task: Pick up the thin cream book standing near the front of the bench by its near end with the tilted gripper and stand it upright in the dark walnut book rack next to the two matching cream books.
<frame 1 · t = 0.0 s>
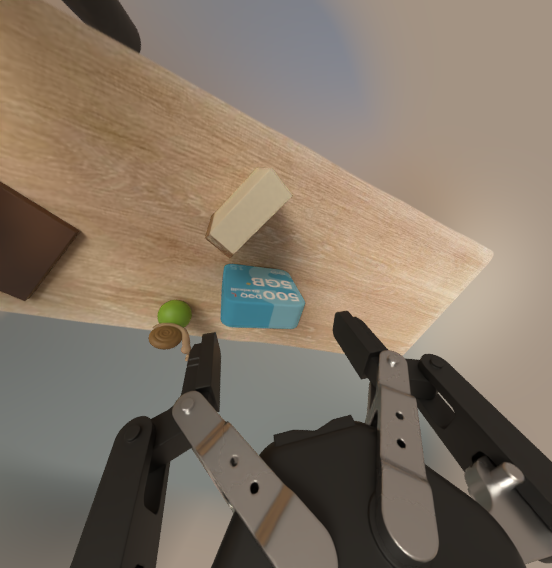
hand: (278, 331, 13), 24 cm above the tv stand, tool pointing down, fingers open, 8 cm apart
data package: (255, 276, 38), on the tv stand
cream book: (242, 201, 31), on the tv stand
snail figurine: (181, 306, 38), on the tv stand
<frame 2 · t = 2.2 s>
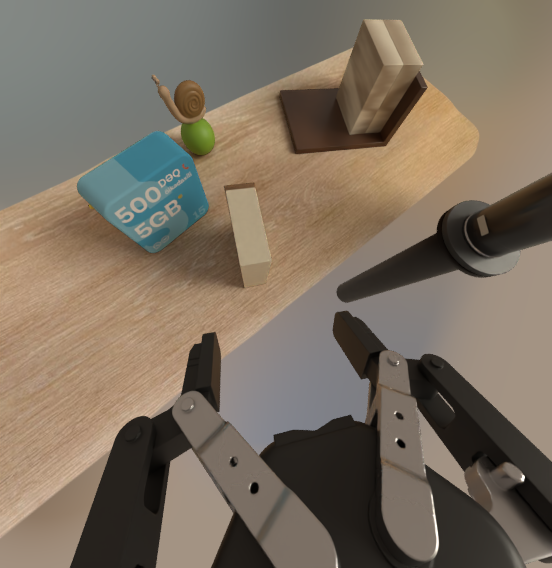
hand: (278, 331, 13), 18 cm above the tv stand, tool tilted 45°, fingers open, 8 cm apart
data package: (175, 224, 33), on the tv stand
cream book: (249, 257, 33), on the tv stand
book rack: (332, 120, 42), on the tv stand
snail figurine: (200, 152, 37), on the tv stand
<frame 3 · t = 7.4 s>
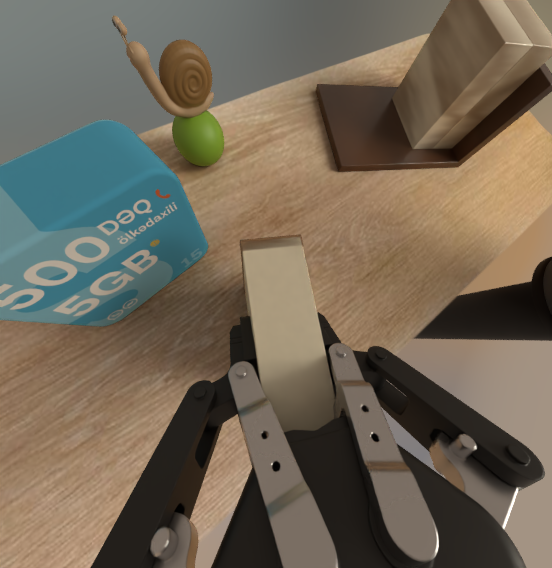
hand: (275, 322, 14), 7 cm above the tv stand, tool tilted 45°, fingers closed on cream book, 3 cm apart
data package: (152, 272, 21), on the tv stand
cream book: (267, 331, 21), on the tv stand, touching gripper
book rack: (386, 129, 31), on the tv stand
snail figurine: (201, 161, 25), on the tv stand
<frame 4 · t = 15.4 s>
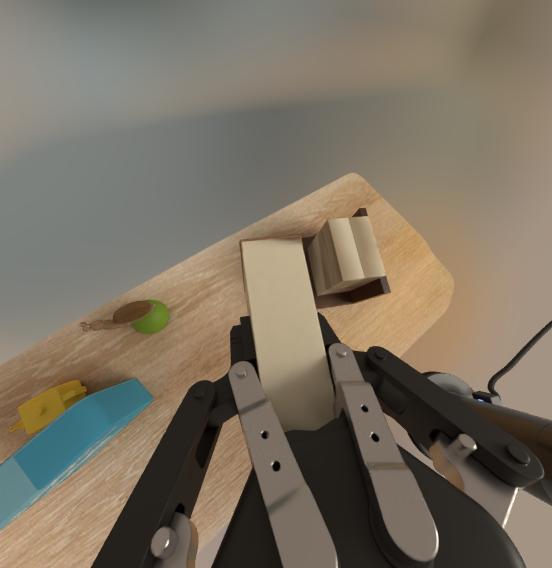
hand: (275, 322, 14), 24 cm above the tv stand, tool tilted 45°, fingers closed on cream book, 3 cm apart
data package: (115, 416, 31), on the tv stand
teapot: (71, 404, 30), on the tv stand
cream book: (267, 331, 21), point 17 cm above the tv stand, touching gripper
book rack: (302, 274, 41), on the tv stand
snail figurine: (155, 319, 35), on the tv stand
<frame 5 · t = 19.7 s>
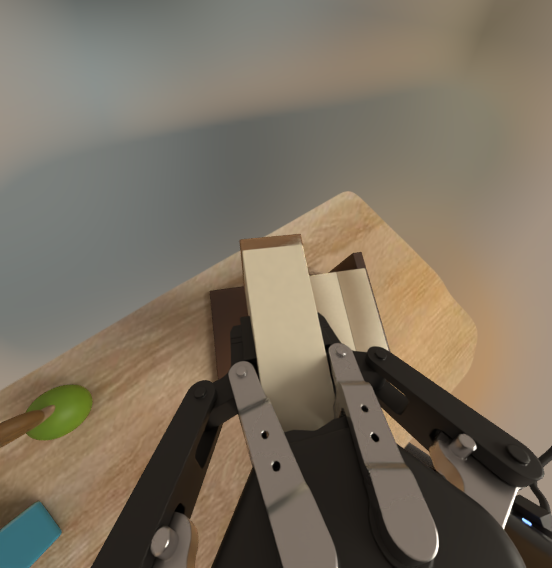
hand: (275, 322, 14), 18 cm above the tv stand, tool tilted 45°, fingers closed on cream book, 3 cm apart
data package: (6, 559, 22), on the tv stand
cream book: (267, 331, 21), point 11 cm above the tv stand, touching gripper
book rack: (280, 329, 31), on the tv stand
snail figurine: (77, 405, 26), on the tv stand
when the fingers open (10 cm above the tv stand, at t = 23.6 s): cream book drops 1 cm, resting on book rack.
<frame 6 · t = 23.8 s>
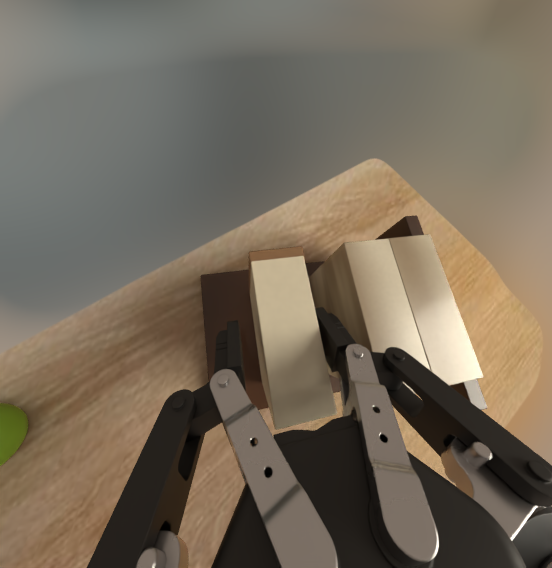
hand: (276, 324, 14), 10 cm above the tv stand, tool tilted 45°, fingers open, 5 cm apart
cream book: (270, 331, 22), point 1 cm above the tv stand, touching book rack
book rack: (294, 327, 24), on the tv stand
snail figurine: (8, 430, 18), on the tv stand
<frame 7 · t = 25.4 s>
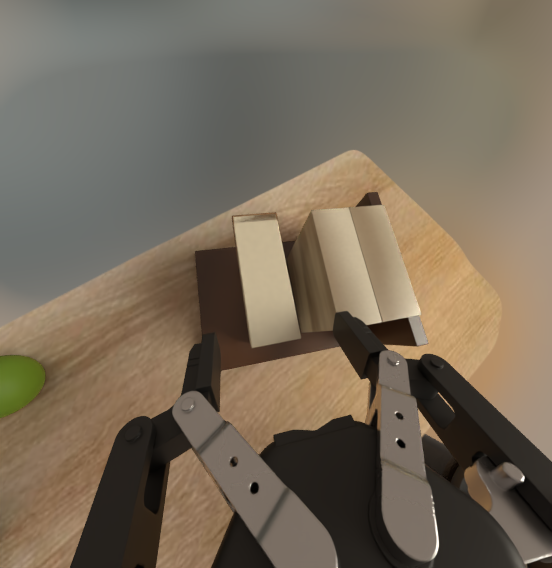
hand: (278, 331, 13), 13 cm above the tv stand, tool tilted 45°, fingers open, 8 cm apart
cream book: (257, 300, 25), point 1 cm above the tv stand, touching book rack
book rack: (278, 297, 27), on the tv stand
snail figurine: (27, 382, 21), on the tv stand
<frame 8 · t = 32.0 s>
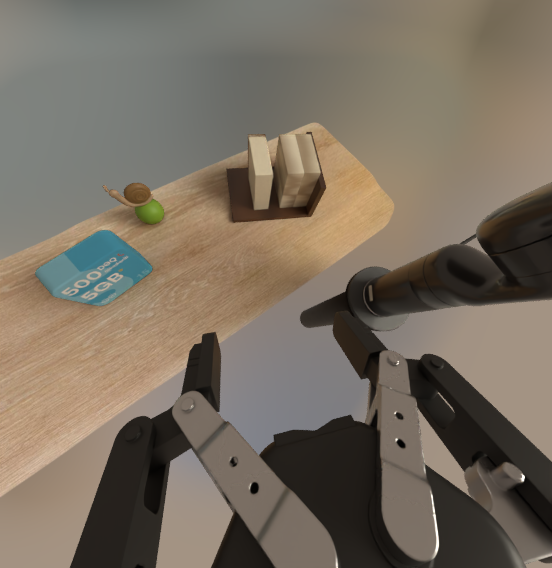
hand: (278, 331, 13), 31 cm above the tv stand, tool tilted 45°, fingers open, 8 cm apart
data package: (124, 280, 42), on the tv stand
cream book: (258, 192, 50), point 1 cm above the tv stand, touching book rack
book rack: (269, 194, 52), on the tv stand
snail figurine: (153, 219, 46), on the tv stand
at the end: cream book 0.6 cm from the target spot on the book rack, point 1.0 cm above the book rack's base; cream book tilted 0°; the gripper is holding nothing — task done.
